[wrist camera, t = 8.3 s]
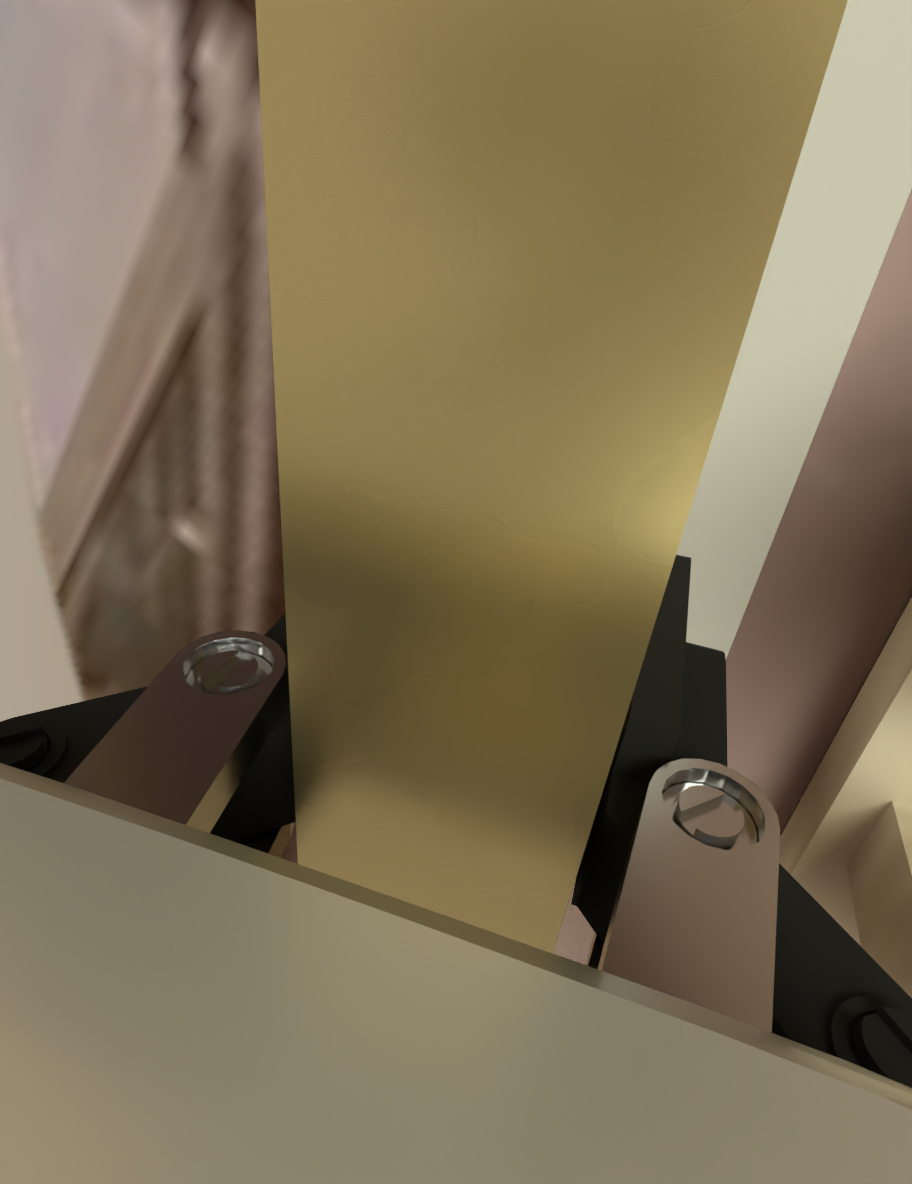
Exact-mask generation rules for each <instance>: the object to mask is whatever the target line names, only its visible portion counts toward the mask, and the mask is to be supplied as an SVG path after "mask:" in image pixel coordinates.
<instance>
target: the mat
mask: <svg viewBox="0 0 912 1184" xmlns="http://www.w3.org/2000/svg"><path fill="white" fill-rule="evenodd" d="M911 188H912V0H848V2H847V5H846V8H845V11H844V15H843V18H842V21H841V24H840V28H839V31H838V34H837V37H836V40H835V44H834V47H833V50H832V53H831V57H830V60H829V63H828V66H827V70H826V73H825V76H824V79H823V82H822V86H821V89H820V92H819V95H818V99H817V102H816V105H815V108H814V111H813V115H812V118H811V121H810V124H809V128H808V131H807V134H806V137H805V141H804V144H803V147H802V150H801V153H800V157H799V160H798V163H797V166H796V170H795V173H794V176H793V179H792V182H791V186H790V189H789V192H788V195H787V199H786V202H785V205H784V208H783V212H782V215H781V218H780V221H779V224H778V228H777V231H776V234H775V237H774V241H773V244H772V247H771V250H770V253H769V257H768V260H767V263H766V266H765V270H764V273H763V276H762V279H761V283H760V286H759V289H758V292H757V295H756V299H755V302H754V305H753V308H752V312H751V315H750V318H749V321H748V324H747V328H746V331H745V334H744V337H743V341H742V344H741V347H740V350H739V354H738V357H737V360H736V363H735V366H734V370H733V373H732V376H731V379H730V383H729V386H728V389H727V392H726V395H725V399H724V402H723V405H722V408H721V412H720V415H719V418H718V421H717V424H716V428H715V431H714V434H713V437H712V441H711V444H710V447H709V450H708V454H707V457H706V460H705V463H704V466H703V470H702V473H701V476H700V479H699V483H698V486H697V489H696V492H695V495H694V499H693V502H692V505H691V508H690V512H689V515H688V518H687V521H686V525H685V528H684V531H683V534H682V537H681V541H680V544H679V547H678V550H677V554H676V555H681V556H685V557H690V558H691V572H690V588H689V603H688V619H687V634H686V642H688V643H692V644H696V645H700V646H704V647H708V648H712V649H716V650H720V651H723V652H724V653H725V658H727V656H728V653H729V651H730V648H731V646H732V643H733V640H734V638H735V635H736V633H737V630H738V628H739V625H740V623H741V620H742V618H743V615H744V613H745V610H746V607H747V605H748V602H749V600H750V597H751V595H752V592H753V590H754V587H755V585H756V582H757V580H758V577H759V574H760V572H761V569H762V567H763V564H764V562H765V559H766V557H767V554H768V552H769V549H770V546H771V544H772V541H773V539H774V536H775V534H776V531H777V529H778V526H779V524H780V521H781V519H782V516H783V513H784V511H785V508H786V506H787V503H788V501H789V498H790V496H791V493H792V491H793V488H794V486H795V483H796V480H797V478H798V475H799V473H800V470H801V468H802V465H803V463H804V460H805V458H806V455H807V453H808V450H809V447H810V445H811V442H812V440H813V437H814V435H815V432H816V430H817V427H818V425H819V422H820V420H821V417H822V414H823V412H824V409H825V407H826V404H827V402H828V399H829V397H830V394H831V392H832V389H833V386H834V384H835V381H836V379H837V376H838V374H839V371H840V369H841V366H842V364H843V361H844V359H845V356H846V353H847V351H848V348H849V346H850V343H851V341H852V338H853V336H854V333H855V331H856V328H857V326H858V323H859V320H860V318H861V315H862V313H863V310H864V308H865V305H866V303H867V300H868V298H869V295H870V293H871V290H872V287H873V285H874V282H875V280H876V277H877V275H878V272H879V270H880V267H881V265H882V262H883V260H884V257H885V254H886V252H887V249H888V247H889V244H890V242H891V239H892V237H893V234H894V232H895V229H896V227H897V224H898V221H899V219H900V216H901V214H902V211H903V209H904V206H905V204H906V201H907V199H908V196H909V193H910V191H911Z"/></svg>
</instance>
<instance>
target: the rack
mask: <svg viewBox="0 0 912 1184" xmlns="http://www.w3.org/2000/svg"><path fill="white" fill-rule="evenodd" d="M779 863H780V864H781V865H782V866H783V867H784V868H785V869H786V870H787V872H788V873H789V874H790V875H791V876H792V877H793V878H794V879H795V880H796V881H797V882H798V883H799V884H800V885H801V886H802V887H803V888H804V889H805V890H806V891H807V892H808V893H809V894H810V895H811V896H812V897H813V898H814V899H815V900H816V901H817V902H818V903H819V904H820V905H821V906H822V907H823V908H824V909H825V910H826V911H827V912H828V913H829V914H830V915H831V916H832V917H833V918H834V919H835V921H836V922H837V923H838V924H839V925H840V926H841V927H842V928H843V929H844V930H845V931H846V932H847V933H848V934H849V935H850V936H851V937H852V938H853V939H854V940H855V941H856V942H857V943H858V944H859V945H860V946H861V947H862V948H863V949H864V950H865V951H866V952H867V953H868V954H869V955H870V956H871V957H872V958H873V959H874V960H875V961H876V962H877V963H878V964H879V965H880V966H881V967H882V968H883V970H884V971H885V972H886V973H887V974H888V975H889V976H890V977H891V978H892V979H893V980H894V981H895V982H896V983H897V984H898V985H899V986H900V987H901V988H902V989H903V990H904V991H905V992H906V993H907V994H908V995H909V996H910V997H911V998H912V597H911V599H910V601H909V603H908V604H907V606H906V608H905V610H904V612H903V614H902V615H901V617H900V619H899V621H898V623H897V625H896V626H895V628H894V630H893V632H892V634H891V636H890V637H889V639H888V641H887V643H886V645H885V646H884V648H883V650H882V652H881V654H880V656H879V657H878V659H877V661H876V663H875V665H874V667H873V668H872V670H871V672H870V674H869V676H868V678H867V679H866V681H865V683H864V685H863V687H862V688H861V690H860V692H859V694H858V696H857V698H856V699H855V701H854V703H853V705H852V707H851V709H850V710H849V712H848V714H847V716H846V718H845V720H844V721H843V723H842V725H841V727H840V729H839V730H838V732H837V734H836V736H835V738H834V740H833V741H832V743H831V745H830V747H829V749H828V751H827V752H826V754H825V756H824V758H823V760H822V762H821V763H820V765H819V767H818V769H817V771H816V773H815V774H814V776H813V778H812V780H811V782H810V783H809V785H808V787H807V789H806V791H805V793H804V794H803V796H802V798H801V800H800V802H799V804H798V805H797V807H796V809H795V811H794V813H793V815H792V816H791V818H790V820H789V822H788V824H787V825H786V827H785V829H784V831H783V833H782V835H781V836H780V851H779Z"/></svg>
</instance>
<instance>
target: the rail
mask: <svg viewBox="0 0 912 1184" xmlns="http://www.w3.org/2000/svg"><path fill="white" fill-rule="evenodd" d="M847 2H848V0H256V21H257V41H258V62H259V82H260V102H261V123H262V143H263V164H264V184H265V204H266V225H267V245H268V265H269V286H270V306H271V327H272V347H273V367H274V388H275V408H276V429H277V449H278V469H279V490H280V510H281V530H282V551H283V571H284V592H285V612H286V632H287V653H288V673H289V694H290V714H291V734H292V755H293V775H294V795H295V816H296V836H297V857H298V864H299V865H302V866H305V867H308V868H311V869H314V870H316V871H319V872H322V873H325V874H328V875H331V876H334V877H337V878H339V879H342V880H345V881H348V882H351V883H354V884H357V885H359V886H362V887H365V888H368V889H371V890H374V891H377V892H379V893H382V894H385V895H388V896H391V897H394V898H397V899H399V900H402V901H405V902H408V903H411V904H414V905H417V906H419V907H422V908H425V909H428V910H431V911H434V912H437V913H439V914H442V915H445V916H448V917H451V918H454V919H457V920H459V921H462V922H465V923H468V924H471V925H474V926H476V927H479V928H482V929H485V930H488V931H490V932H493V933H496V934H499V935H502V936H505V937H507V938H510V939H513V940H516V941H519V942H521V943H524V944H527V945H530V946H533V947H535V948H538V949H541V950H544V951H547V952H550V953H552V954H553V950H554V947H555V944H556V941H557V938H558V934H559V931H560V928H561V925H562V921H563V918H564V915H565V912H566V909H567V905H568V902H569V899H570V896H571V892H572V889H573V886H574V883H575V879H576V876H577V873H578V870H579V867H580V863H581V860H582V857H583V854H584V850H585V847H586V844H587V841H588V838H589V834H590V831H591V828H592V825H593V821H594V818H595V815H596V812H597V808H598V805H599V802H600V799H601V796H602V792H603V789H604V786H605V783H606V779H607V776H608V773H609V770H610V767H611V763H612V760H613V757H614V754H615V750H616V747H617V744H618V741H619V737H620V734H621V731H622V728H623V725H624V721H625V718H626V715H627V712H628V708H629V705H630V702H631V699H632V696H633V692H634V689H635V686H636V683H637V679H638V676H639V673H640V670H641V667H642V663H643V660H644V657H645V654H646V650H647V647H648V644H649V641H650V637H651V634H652V631H653V628H654V625H655V621H656V618H657V615H658V612H659V608H660V605H661V602H662V599H663V596H664V592H665V589H666V586H667V583H668V579H669V576H670V573H671V570H672V566H673V563H674V560H675V557H676V554H677V550H678V547H679V544H680V541H681V537H682V534H683V531H684V528H685V525H686V521H687V518H688V515H689V512H690V508H691V505H692V502H693V499H694V495H695V492H696V489H697V486H698V483H699V479H700V476H701V473H702V470H703V466H704V463H705V460H706V457H707V454H708V450H709V447H710V444H711V441H712V437H713V434H714V431H715V428H716V424H717V421H718V418H719V415H720V412H721V408H722V405H723V402H724V399H725V395H726V392H727V389H728V386H729V383H730V379H731V376H732V373H733V370H734V366H735V363H736V360H737V357H738V354H739V350H740V347H741V344H742V341H743V337H744V334H745V331H746V328H747V324H748V321H749V318H750V315H751V312H752V308H753V305H754V302H755V299H756V295H757V292H758V289H759V286H760V283H761V279H762V276H763V273H764V270H765V266H766V263H767V260H768V257H769V253H770V250H771V247H772V244H773V241H774V237H775V234H776V231H777V228H778V224H779V221H780V218H781V215H782V212H783V208H784V205H785V202H786V199H787V195H788V192H789V189H790V186H791V182H792V179H793V176H794V173H795V170H796V166H797V163H798V160H799V157H800V153H801V150H802V147H803V144H804V141H805V137H806V134H807V131H808V128H809V124H810V121H811V118H812V115H813V111H814V108H815V105H816V102H817V99H818V95H819V92H820V89H821V86H822V82H823V79H824V76H825V73H826V70H827V66H828V63H829V60H830V57H831V53H832V50H833V47H834V44H835V40H836V37H837V34H838V31H839V28H840V24H841V21H842V18H843V15H844V11H845V8H846V5H847Z"/></svg>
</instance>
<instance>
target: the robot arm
mask: <svg viewBox="0 0 912 1184" xmlns="http://www.w3.org/2000/svg"><path fill="white" fill-rule="evenodd" d="M690 572H691V558H690V557H685V556H681V555H676V557H675V560H674V563H673V566H672V570H671V573H670V576H669V579H668V583H667V586H666V589H665V592H664V596H663V599H662V602H661V605H660V608H659V612H658V615H657V618H656V621H655V625H654V628H653V631H652V634H651V637H650V641H649V644H648V647H647V650H646V654H645V657H644V660H643V663H642V667H641V670H640V673H639V676H638V679H637V683H636V686H635V689H634V692H633V696H632V699H631V702H630V705H629V708H628V712H627V715H626V718H625V721H624V725H623V728H622V731H621V734H620V737H619V741H618V744H617V747H616V750H615V754H614V757H613V760H612V763H611V767H610V770H609V773H608V776H607V779H606V783H605V786H604V789H603V792H602V796H601V799H600V802H599V805H598V808H597V812H596V815H595V818H594V821H593V825H592V828H591V831H590V834H589V838H588V841H587V844H586V847H585V850H584V854H583V857H582V860H581V863H580V867H579V870H578V873H577V876H576V883H575V888H574V893H573V898H572V904H573V905H576V906H577V907H578V908H579V909H580V911H581V912H582V914H583V915H584V917H585V918H586V920H587V921H588V922H589V924H590V925H591V927H592V928H593V930H594V931H595V935H594V938H593V941H592V945H591V948H590V952H589V956H588V959H587V963H586V965H583V964H581V963H578V962H575V961H572V960H569V959H566V958H564V957H561V956H558V955H555V954H552V953H550V952H547V951H544V950H541V949H538V948H535V947H533V946H530V945H527V944H524V943H521V942H519V941H516V940H513V939H510V938H507V937H505V936H502V935H499V934H496V933H493V932H490V931H488V930H485V929H482V928H479V927H476V926H474V925H471V924H468V923H465V922H462V921H459V920H457V919H454V918H451V917H448V916H445V915H442V914H439V913H437V912H434V911H431V910H428V909H425V908H422V907H419V906H417V905H414V904H411V903H408V902H405V901H402V900H399V899H397V898H394V897H391V896H388V895H385V894H382V893H379V892H377V891H374V890H371V889H368V888H365V887H362V886H359V885H357V884H354V883H351V882H348V881H345V880H342V879H339V878H337V877H334V876H331V875H328V874H325V873H322V872H319V871H316V870H314V869H311V868H308V867H305V866H302V865H299V864H296V863H294V862H291V861H288V860H285V859H282V858H281V857H282V854H283V852H284V850H285V848H286V846H287V844H288V842H289V840H290V838H291V835H292V832H293V828H294V822H296V816H295V795H294V775H293V755H292V734H291V714H290V694H289V673H288V653H287V632H286V613H285V614H284V615H283V616H282V617H281V618H280V619H279V620H278V621H277V623H276V624H275V625H274V626H273V627H272V628H271V629H270V630H269V631H268V632H267V633H266V634H265V636H263V635H260V634H257V633H254V632H246V631H226V632H218V633H214V634H210V635H207V636H203V637H201V638H199V639H197V640H195V641H193V642H191V643H189V644H188V645H186V646H185V647H184V648H183V649H182V650H180V651H179V652H178V653H177V654H176V655H175V656H174V657H173V659H172V660H171V661H170V662H169V663H168V664H167V665H166V667H165V668H164V669H163V670H162V671H161V672H160V673H159V675H158V676H157V677H156V678H155V679H154V680H153V681H152V683H151V684H150V685H149V686H148V687H144V688H140V689H135V690H131V691H127V692H122V693H118V694H114V695H109V696H105V697H101V698H96V699H92V700H88V701H83V702H79V703H75V704H70V705H66V706H62V707H58V708H53V709H49V710H45V711H40V712H36V713H32V714H27V715H23V716H19V717H14V718H11V719H8V720H5V721H2V722H0V1184H912V998H911V997H910V996H909V995H908V994H907V993H906V992H905V991H904V990H903V989H902V988H901V987H900V986H899V985H898V984H897V983H896V982H895V981H894V980H893V979H892V978H891V977H890V976H889V975H888V974H887V973H886V972H885V971H884V970H883V968H882V967H881V966H880V965H879V964H878V963H877V962H876V961H875V960H874V959H873V958H872V957H871V956H870V955H869V954H868V953H867V952H866V951H865V950H864V949H863V948H862V947H861V946H860V945H859V944H858V943H857V942H856V941H855V940H854V939H853V938H852V937H851V936H850V935H849V934H848V933H847V932H846V931H845V930H844V929H843V928H842V927H841V926H840V925H839V924H838V923H837V922H836V921H835V919H834V918H833V917H832V916H831V915H830V914H829V913H828V912H827V911H826V910H825V909H824V908H823V907H822V906H821V905H820V904H819V903H818V902H817V901H816V900H815V899H814V898H813V897H812V896H811V895H810V894H809V893H808V892H807V891H806V890H805V889H804V888H803V887H802V886H801V885H800V884H799V883H798V882H797V881H796V880H795V879H794V878H793V877H792V876H791V875H790V874H789V873H788V872H787V870H786V869H785V868H784V867H783V866H782V865H781V864H780V863H779V851H780V826H779V820H778V815H777V813H776V811H775V809H774V808H773V806H772V804H771V802H770V800H769V799H768V798H767V796H766V795H765V794H764V793H763V792H762V791H761V790H760V789H759V788H758V787H757V786H756V785H755V784H754V783H753V782H751V781H750V780H749V779H747V778H746V777H744V776H743V775H742V774H740V773H739V772H737V771H735V770H733V769H730V768H728V767H727V713H726V658H725V653H724V652H723V651H720V650H716V649H712V648H708V647H704V646H700V645H696V644H692V643H688V642H686V634H687V619H688V603H689V588H690Z"/></svg>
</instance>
